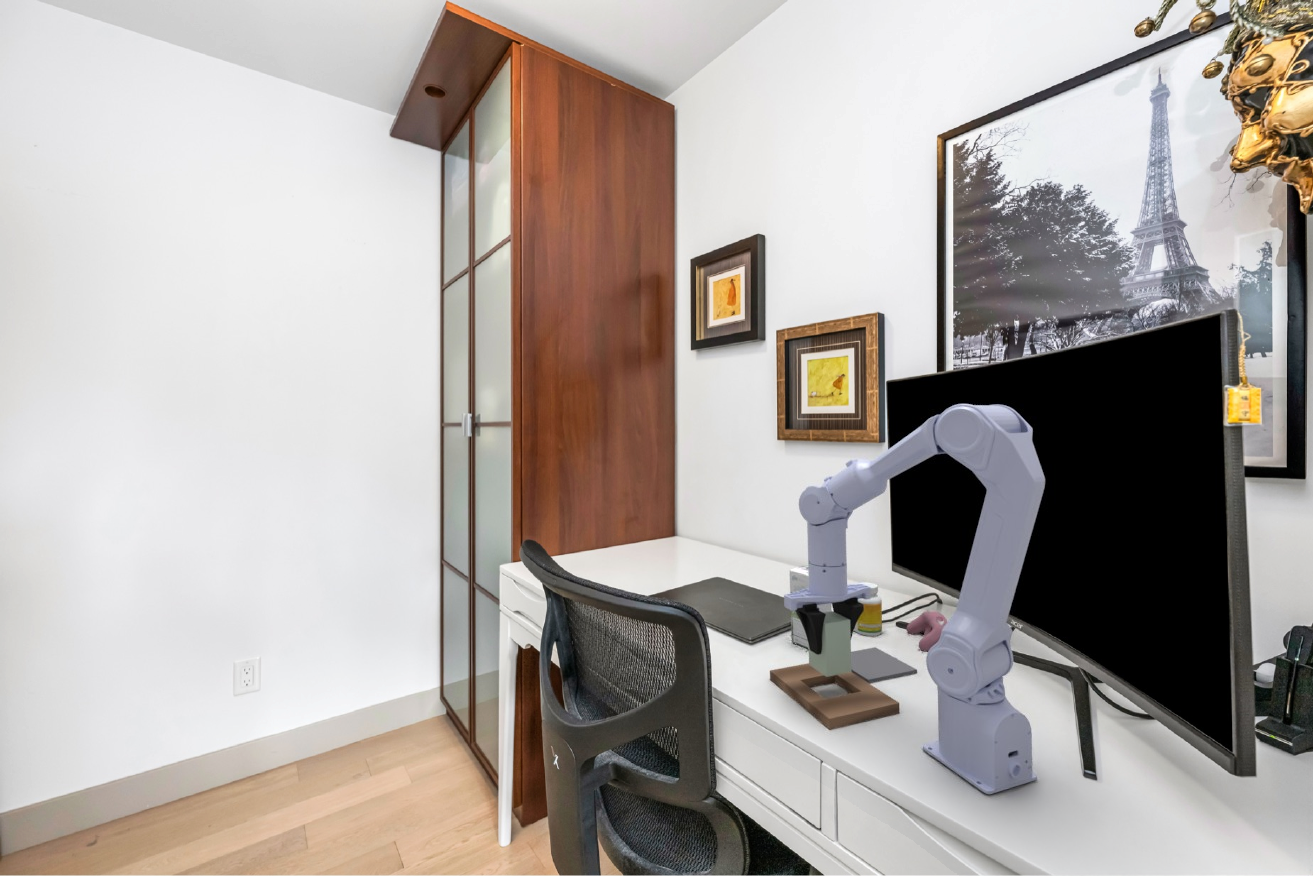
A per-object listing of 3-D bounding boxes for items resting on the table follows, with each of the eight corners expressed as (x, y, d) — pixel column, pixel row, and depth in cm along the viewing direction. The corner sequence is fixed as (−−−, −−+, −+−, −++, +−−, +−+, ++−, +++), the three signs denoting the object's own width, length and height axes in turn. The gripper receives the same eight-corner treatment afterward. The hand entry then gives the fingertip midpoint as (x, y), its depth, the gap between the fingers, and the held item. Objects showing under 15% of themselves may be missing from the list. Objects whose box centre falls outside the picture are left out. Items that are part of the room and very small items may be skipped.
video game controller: (942, 661, 97) (959, 628, 97) (917, 649, 98) (935, 616, 97) (925, 640, 107) (941, 610, 106) (903, 629, 108) (919, 599, 107)
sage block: (851, 671, 81) (850, 619, 81) (826, 676, 80) (825, 624, 80) (833, 660, 86) (831, 610, 86) (809, 664, 84) (807, 614, 84)
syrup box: (833, 644, 102) (832, 569, 102) (813, 652, 99) (811, 574, 99) (810, 635, 107) (808, 563, 107) (790, 643, 104) (788, 568, 103)
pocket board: (899, 713, 77) (899, 702, 77) (829, 729, 74) (829, 718, 74) (830, 667, 92) (830, 659, 92) (770, 679, 89) (769, 670, 89)
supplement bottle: (848, 628, 110) (847, 582, 110) (871, 625, 111) (870, 580, 111) (864, 638, 105) (863, 589, 105) (888, 635, 106) (887, 587, 106)
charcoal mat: (917, 673, 90) (917, 669, 90) (868, 683, 86) (868, 679, 86) (875, 650, 99) (875, 647, 99) (829, 658, 96) (829, 655, 96)
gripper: (849, 552, 89) (851, 633, 89) (772, 561, 84) (775, 646, 84) (879, 562, 82) (881, 649, 82) (798, 572, 78) (800, 664, 78)
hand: (829, 649), depth 83 cm, fingers closed on sage block, 4 cm apart
